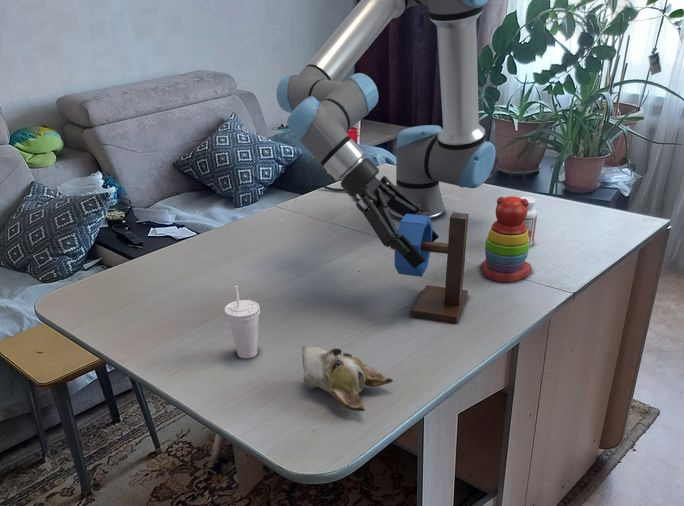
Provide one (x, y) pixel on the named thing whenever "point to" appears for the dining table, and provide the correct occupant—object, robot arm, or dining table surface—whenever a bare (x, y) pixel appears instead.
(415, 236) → the tape
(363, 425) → the dining table surface
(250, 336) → the smoothie
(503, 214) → the stacking bear
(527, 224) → the pill bottle
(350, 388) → the ceramic sculpture
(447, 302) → the stand
